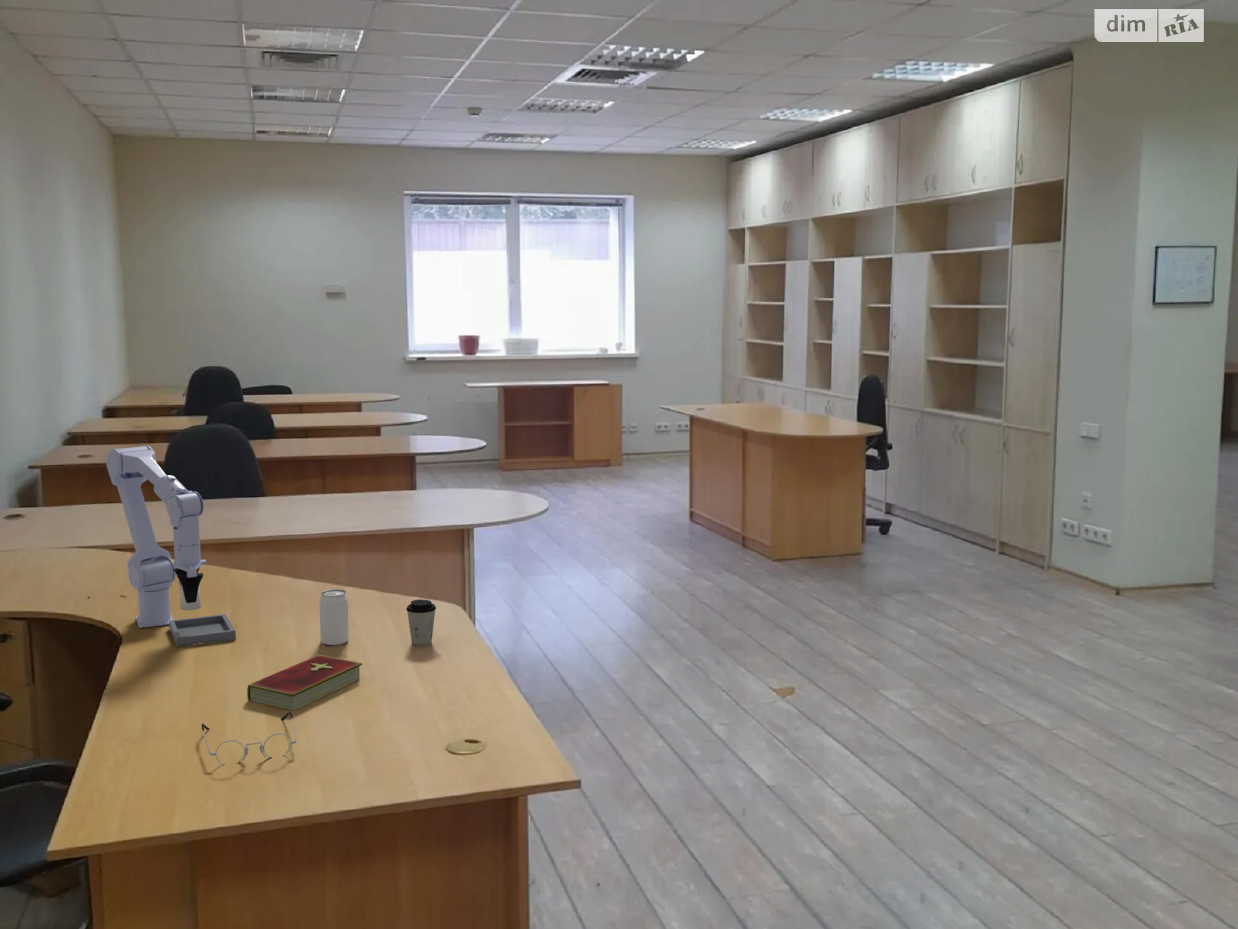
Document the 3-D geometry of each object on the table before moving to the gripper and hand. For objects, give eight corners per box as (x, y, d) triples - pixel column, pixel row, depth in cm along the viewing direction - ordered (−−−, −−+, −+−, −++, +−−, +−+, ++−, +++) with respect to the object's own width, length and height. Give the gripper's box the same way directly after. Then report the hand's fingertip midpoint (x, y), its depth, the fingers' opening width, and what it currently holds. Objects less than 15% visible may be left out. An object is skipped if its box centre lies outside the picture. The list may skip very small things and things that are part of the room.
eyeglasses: (206, 773, 186) (205, 745, 185) (200, 732, 203) (199, 707, 202) (302, 758, 192) (301, 731, 192) (289, 720, 209) (288, 695, 208)
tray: (169, 629, 262) (169, 620, 262) (225, 622, 268) (225, 614, 268) (176, 647, 249) (176, 638, 249) (235, 639, 255) (235, 630, 255)
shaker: (178, 606, 257) (177, 578, 256) (199, 604, 260) (197, 575, 259) (182, 611, 254) (180, 582, 252) (202, 608, 256) (201, 580, 255)
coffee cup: (442, 643, 255) (442, 602, 254) (418, 650, 250) (418, 608, 248) (424, 636, 260) (424, 596, 258) (400, 643, 255) (400, 602, 253)
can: (341, 647, 251) (340, 597, 249) (315, 645, 253) (314, 595, 251) (353, 638, 258) (352, 590, 256) (328, 636, 259) (327, 588, 257)
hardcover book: (247, 703, 218) (246, 683, 217) (318, 671, 236) (318, 653, 236) (293, 713, 213) (292, 693, 212) (362, 680, 231) (361, 661, 231)
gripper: (209, 548, 250) (212, 605, 252) (200, 536, 262) (203, 590, 264) (176, 551, 246) (179, 609, 249) (169, 538, 259) (172, 593, 261)
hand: (189, 599), depth 256 cm, fingers closed on shaker, 4 cm apart
